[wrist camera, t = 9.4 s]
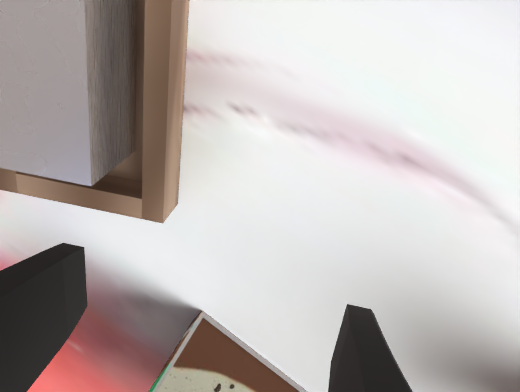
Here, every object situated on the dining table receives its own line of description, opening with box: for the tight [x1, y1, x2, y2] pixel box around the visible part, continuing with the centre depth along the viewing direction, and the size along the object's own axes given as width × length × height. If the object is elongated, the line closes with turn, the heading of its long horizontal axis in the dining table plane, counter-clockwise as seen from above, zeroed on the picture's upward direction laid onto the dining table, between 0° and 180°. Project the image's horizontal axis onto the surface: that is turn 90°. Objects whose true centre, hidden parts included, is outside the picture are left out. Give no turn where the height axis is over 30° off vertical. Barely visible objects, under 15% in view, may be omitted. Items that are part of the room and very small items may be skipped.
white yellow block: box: [0, 0, 137, 186], centre depth 17 cm, size 4×8×4 cm, turn 173°
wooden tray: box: [0, 0, 189, 223], centre depth 18 cm, size 8×13×2 cm, turn 173°
